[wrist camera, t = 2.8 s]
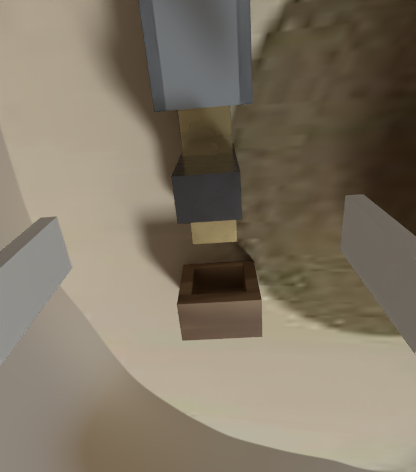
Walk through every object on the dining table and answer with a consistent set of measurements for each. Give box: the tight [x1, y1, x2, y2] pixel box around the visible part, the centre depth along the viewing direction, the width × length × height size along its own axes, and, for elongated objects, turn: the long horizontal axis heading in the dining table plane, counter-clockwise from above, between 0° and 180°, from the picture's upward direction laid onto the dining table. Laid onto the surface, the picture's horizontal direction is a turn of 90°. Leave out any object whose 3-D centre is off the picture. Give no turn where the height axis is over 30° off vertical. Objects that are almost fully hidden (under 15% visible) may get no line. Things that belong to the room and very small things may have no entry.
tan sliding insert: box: [172, 105, 242, 244], centre depth 23 cm, size 18×4×9 cm, turn 5°
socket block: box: [177, 261, 262, 340], centre depth 32 cm, size 4×7×6 cm, turn 95°
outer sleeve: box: [138, 0, 252, 112], centre depth 23 cm, size 10×6×6 cm
